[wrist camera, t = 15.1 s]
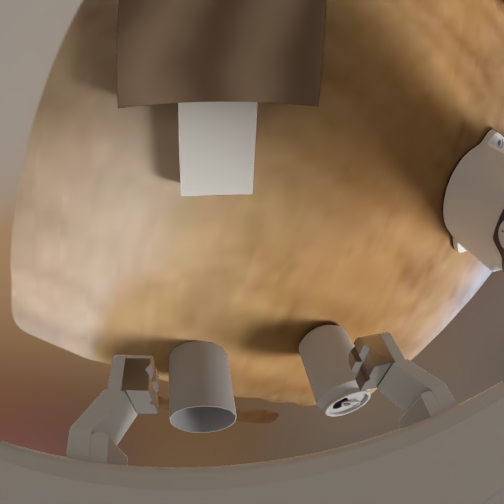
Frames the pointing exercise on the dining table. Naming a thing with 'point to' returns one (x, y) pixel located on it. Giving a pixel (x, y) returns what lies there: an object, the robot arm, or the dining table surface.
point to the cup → (200, 388)
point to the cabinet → (219, 51)
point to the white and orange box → (217, 147)
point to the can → (331, 370)
